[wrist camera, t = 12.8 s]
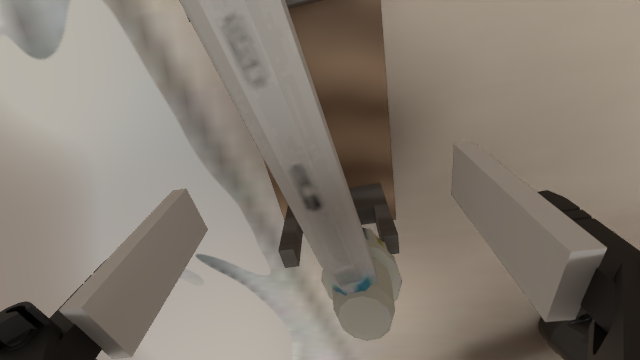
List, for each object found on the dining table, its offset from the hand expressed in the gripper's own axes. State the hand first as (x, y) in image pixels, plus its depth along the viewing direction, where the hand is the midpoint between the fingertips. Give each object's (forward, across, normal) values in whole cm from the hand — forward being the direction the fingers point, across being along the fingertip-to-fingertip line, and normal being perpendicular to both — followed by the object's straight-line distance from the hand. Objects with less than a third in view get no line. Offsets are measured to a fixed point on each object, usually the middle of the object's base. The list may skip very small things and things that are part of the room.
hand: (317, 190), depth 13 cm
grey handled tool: (+4, 0, -1) cm, 4 cm away
